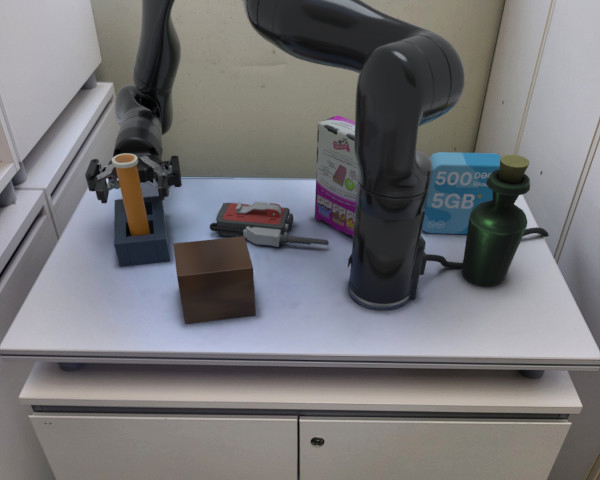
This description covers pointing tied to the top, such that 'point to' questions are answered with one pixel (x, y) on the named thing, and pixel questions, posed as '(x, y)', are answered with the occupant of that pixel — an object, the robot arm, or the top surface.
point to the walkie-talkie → (259, 224)
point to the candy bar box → (336, 174)
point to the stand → (215, 279)
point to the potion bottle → (497, 224)
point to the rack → (141, 246)
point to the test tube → (131, 193)
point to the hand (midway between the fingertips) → (131, 196)
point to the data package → (457, 189)
